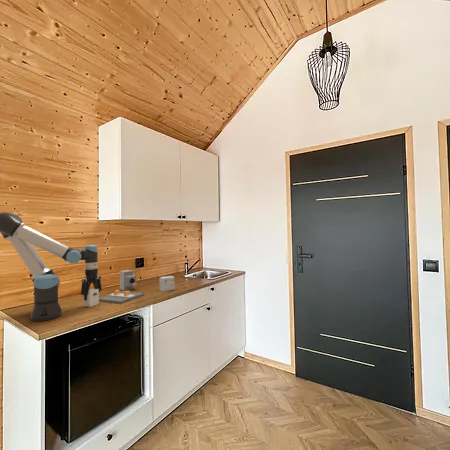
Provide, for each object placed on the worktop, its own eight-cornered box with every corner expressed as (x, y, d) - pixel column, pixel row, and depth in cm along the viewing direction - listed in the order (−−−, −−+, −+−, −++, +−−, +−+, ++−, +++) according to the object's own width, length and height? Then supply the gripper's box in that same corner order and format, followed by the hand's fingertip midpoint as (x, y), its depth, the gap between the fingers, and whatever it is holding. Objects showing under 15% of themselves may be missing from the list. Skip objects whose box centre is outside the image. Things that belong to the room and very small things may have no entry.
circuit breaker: (129, 291, 218) (129, 272, 218) (119, 289, 226) (119, 271, 227) (137, 289, 224) (137, 271, 224) (127, 287, 232) (127, 269, 233)
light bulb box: (169, 288, 227) (169, 275, 227) (174, 289, 223) (174, 276, 223) (159, 290, 219) (158, 277, 219) (164, 292, 214) (164, 278, 215)
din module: (91, 307, 175) (91, 291, 175) (84, 306, 178) (84, 290, 178) (100, 304, 182) (99, 289, 182) (93, 303, 184) (93, 288, 184)
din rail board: (120, 303, 182) (120, 295, 182) (98, 301, 190) (98, 293, 190) (144, 295, 205) (143, 288, 205) (122, 293, 212) (122, 286, 212)
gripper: (82, 271, 169) (83, 308, 169) (107, 266, 188) (107, 300, 188) (73, 270, 172) (74, 307, 172) (99, 266, 191) (99, 299, 191)
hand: (91, 303), depth 180 cm, fingers closed on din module, 7 cm apart
